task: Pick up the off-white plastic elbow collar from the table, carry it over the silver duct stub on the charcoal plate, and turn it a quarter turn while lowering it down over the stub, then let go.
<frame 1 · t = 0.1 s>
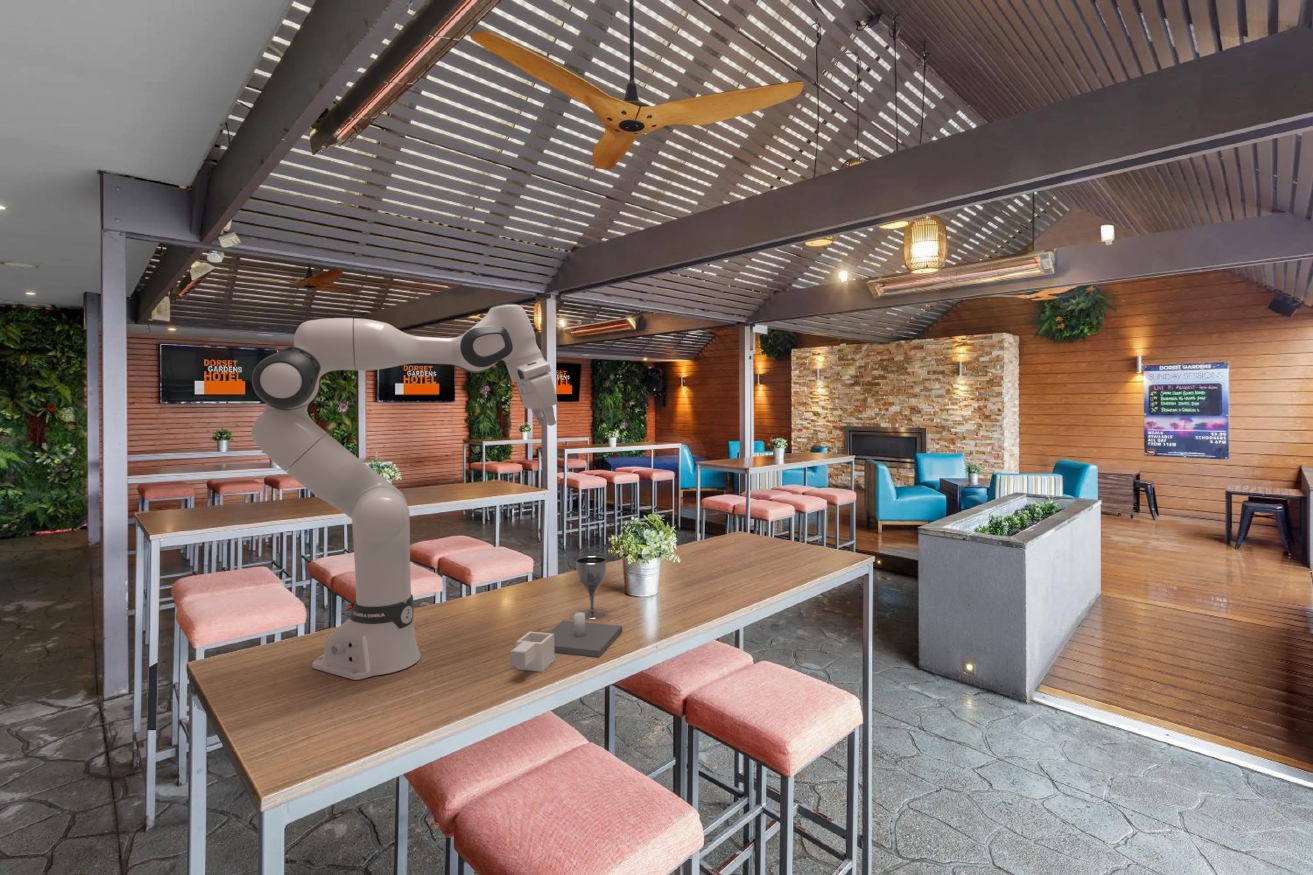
hand: (547, 424, 147), 52 cm above the table, tool tilted 20°, fingers open, 8 cm apart
wine glass: (592, 615, 164), on the table
elbow: (536, 664, 132), on the table
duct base: (579, 640, 145), on the table
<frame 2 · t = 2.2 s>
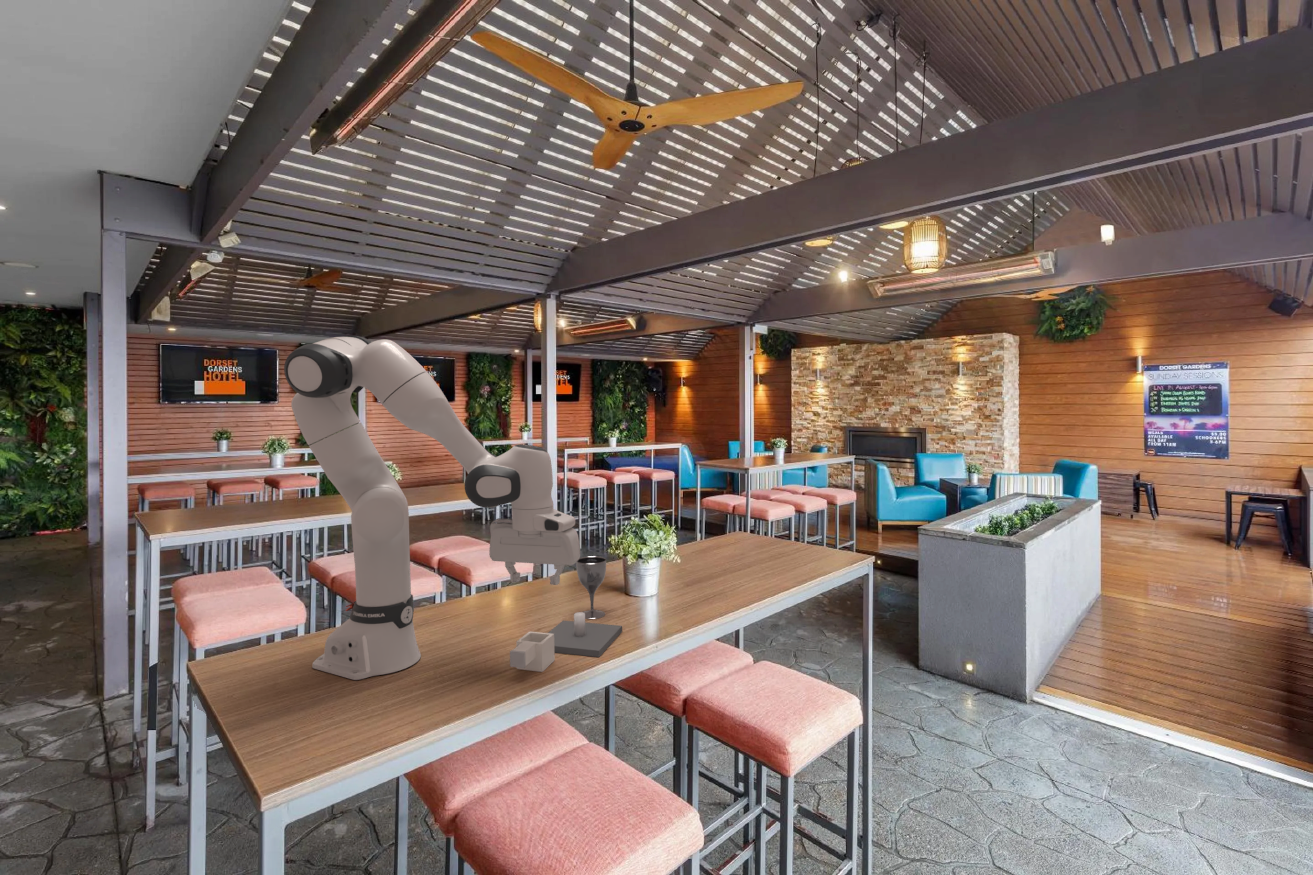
hand: (535, 582, 131), 18 cm above the table, tool pointing down, fingers open, 8 cm apart
nothing on the table moved.
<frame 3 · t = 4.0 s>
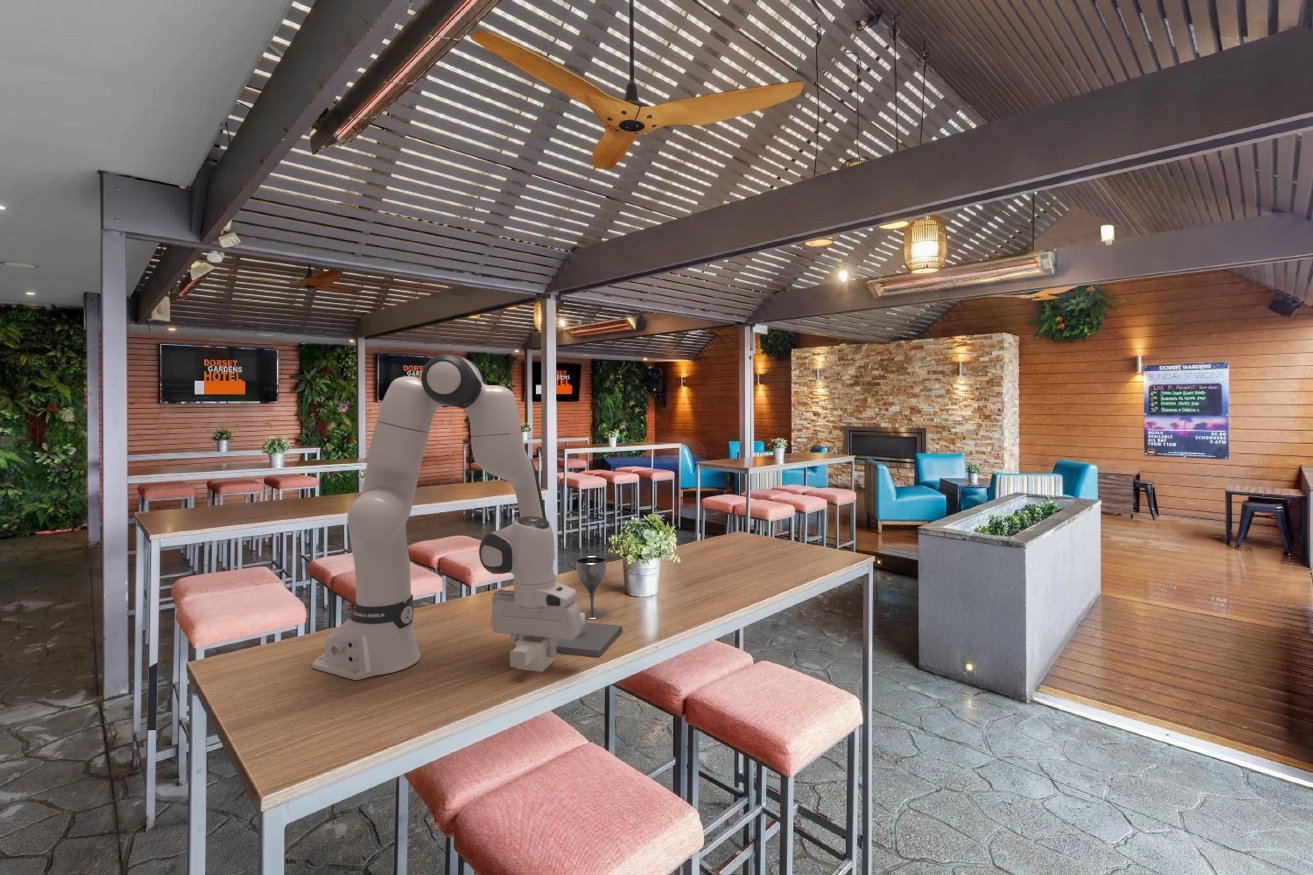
hand: (536, 654, 132), 2 cm above the table, tool pointing down, fingers closed on elbow, 6 cm apart
elbow: (536, 664, 132), on the table, touching gripper
everything else where it was.
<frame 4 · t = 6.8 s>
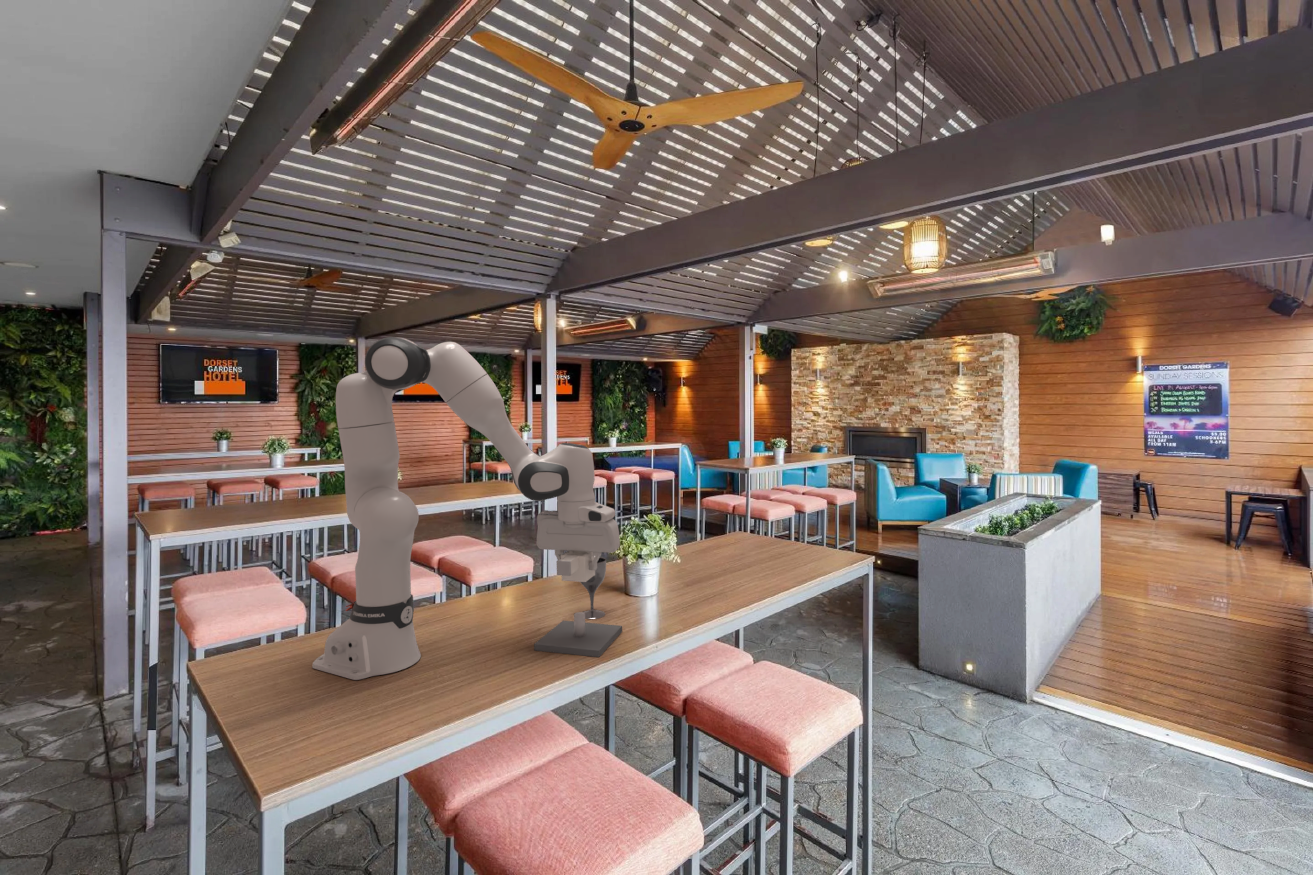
hand: (578, 568, 144), 18 cm above the table, tool pointing down, fingers closed on elbow, 6 cm apart
elbow: (578, 577, 144), point 16 cm above the table, touching gripper
everything else where it was.
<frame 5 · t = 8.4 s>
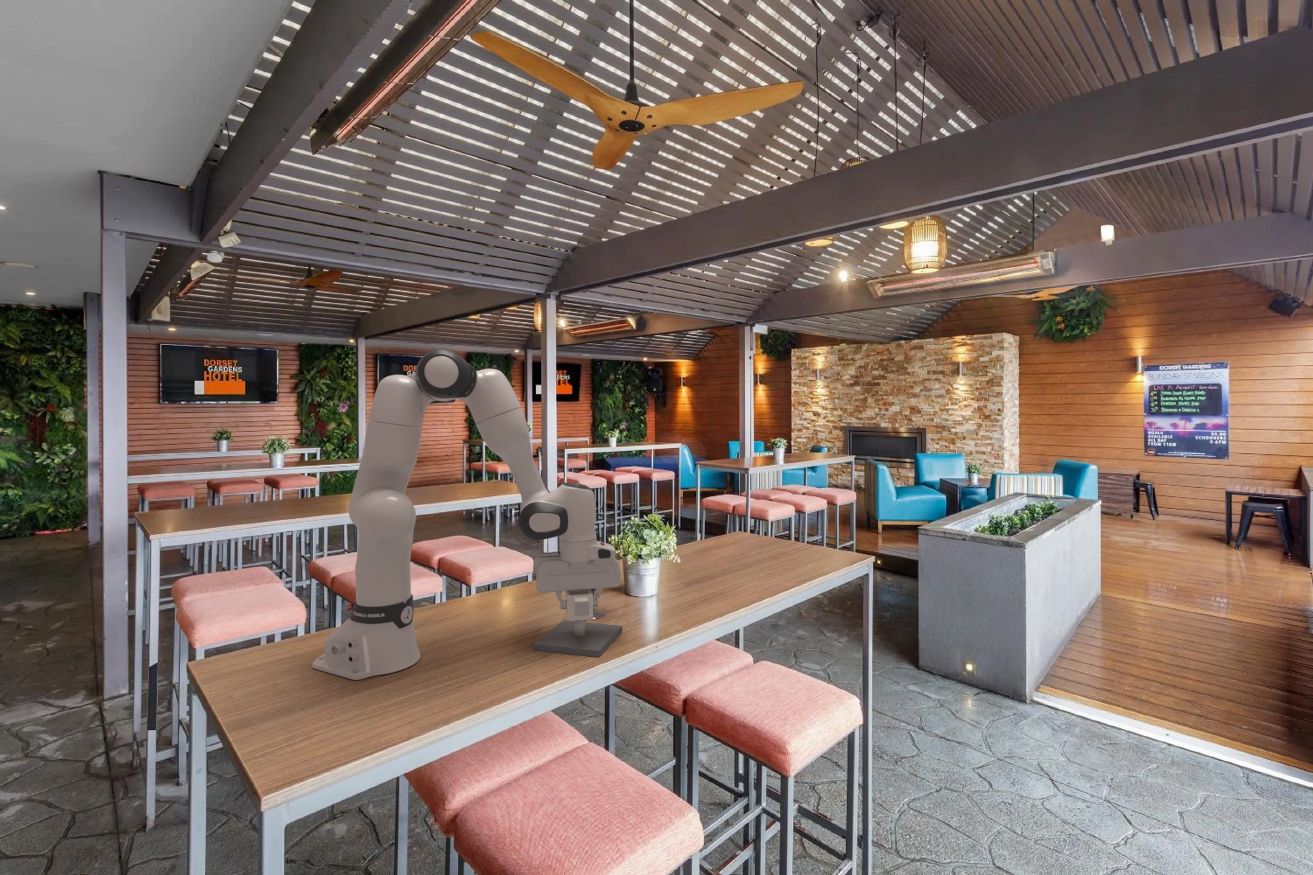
hand: (579, 607, 145), 8 cm above the table, tool pointing down, fingers closed on elbow, 6 cm apart
elbow: (579, 615, 145), point 6 cm above the table, touching gripper
everything else where it was.
when the fingers open (5 cm above the table, at t = 9.6 s): elbow drops 1 cm, resting on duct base.
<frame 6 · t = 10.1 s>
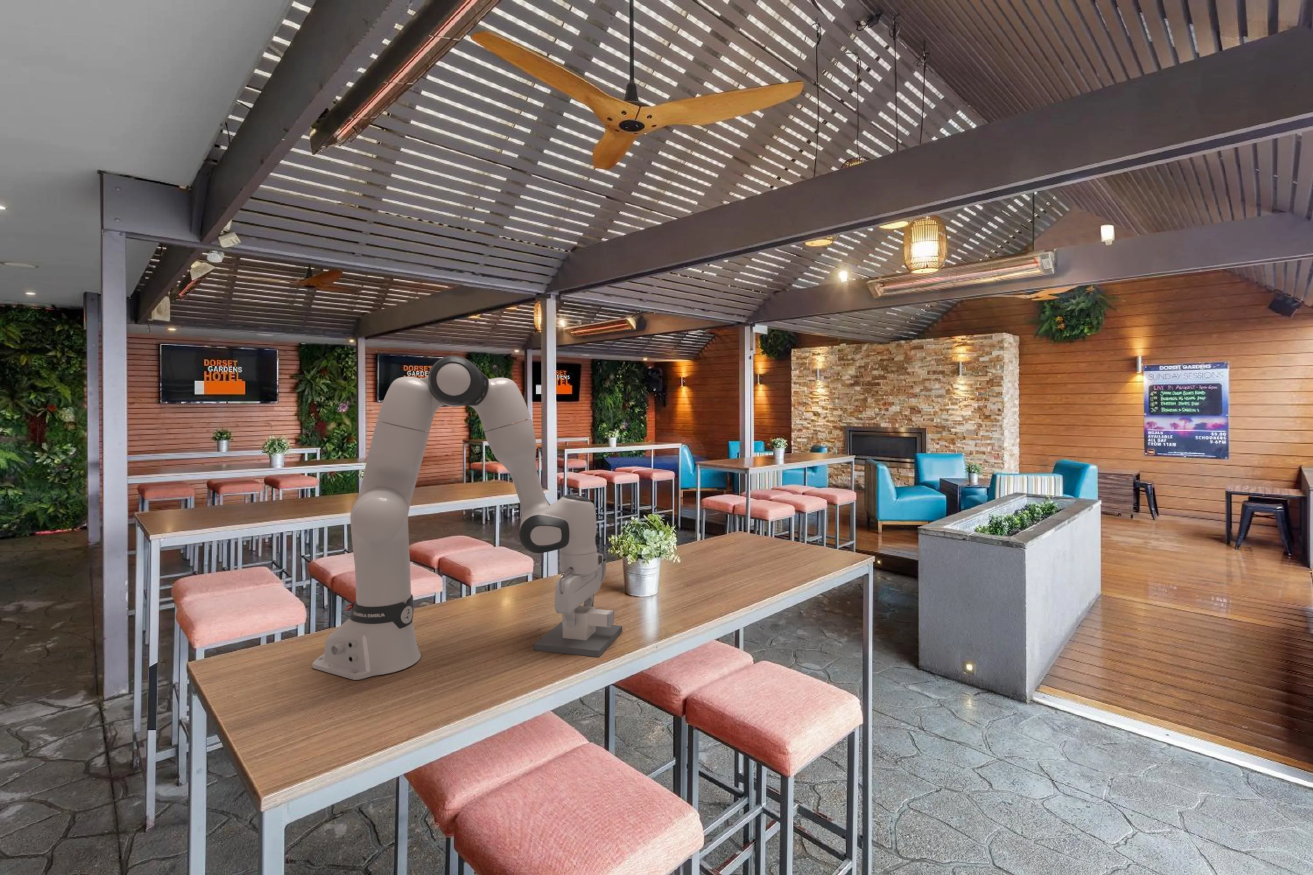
hand: (579, 619, 145), 5 cm above the table, tool pointing down, fingers open, 8 cm apart
elbow: (579, 634, 145), point 1 cm above the table, touching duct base
everything else where it was.
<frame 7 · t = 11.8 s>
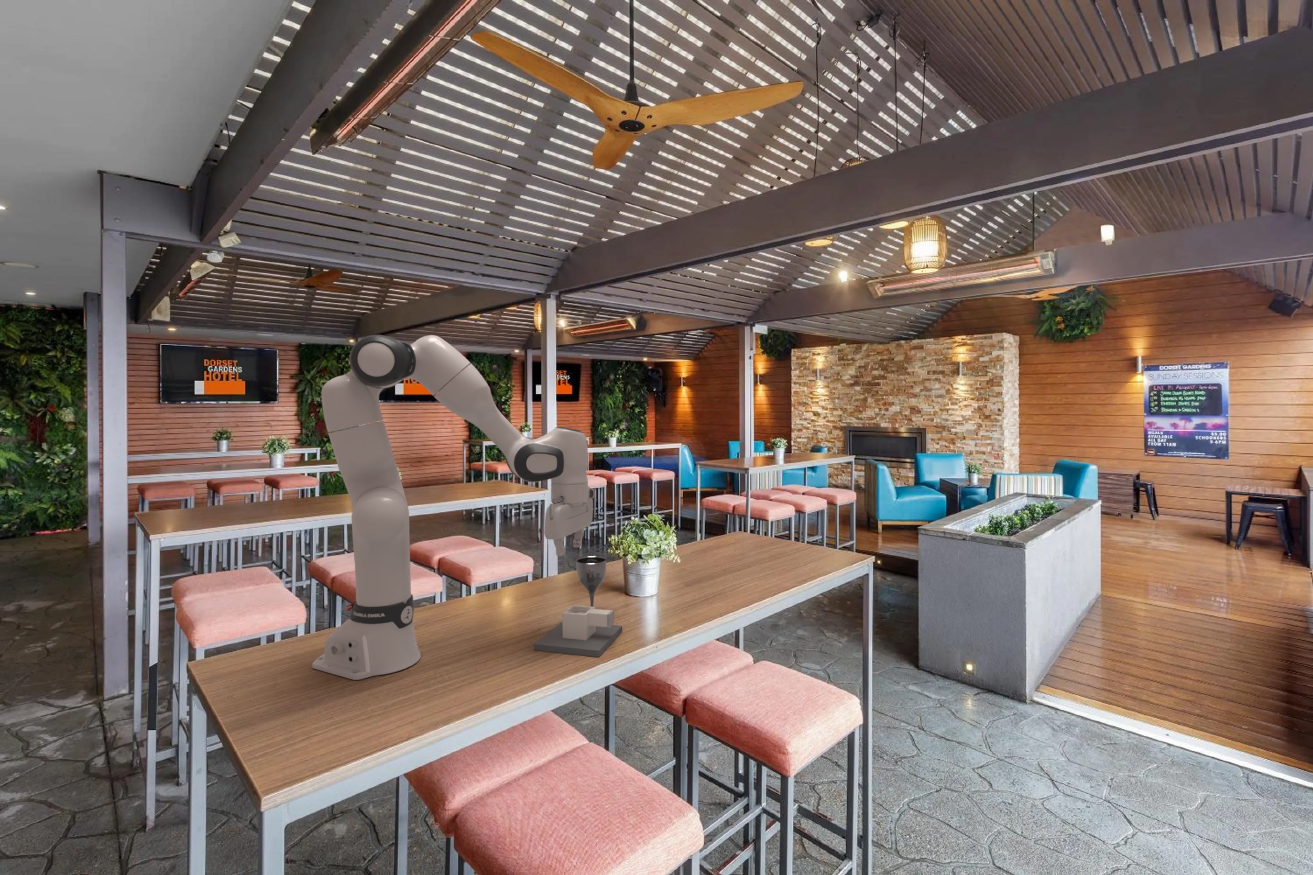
hand: (569, 550, 146), 21 cm above the table, tool pointing down, fingers open, 8 cm apart
nothing on the table moved.
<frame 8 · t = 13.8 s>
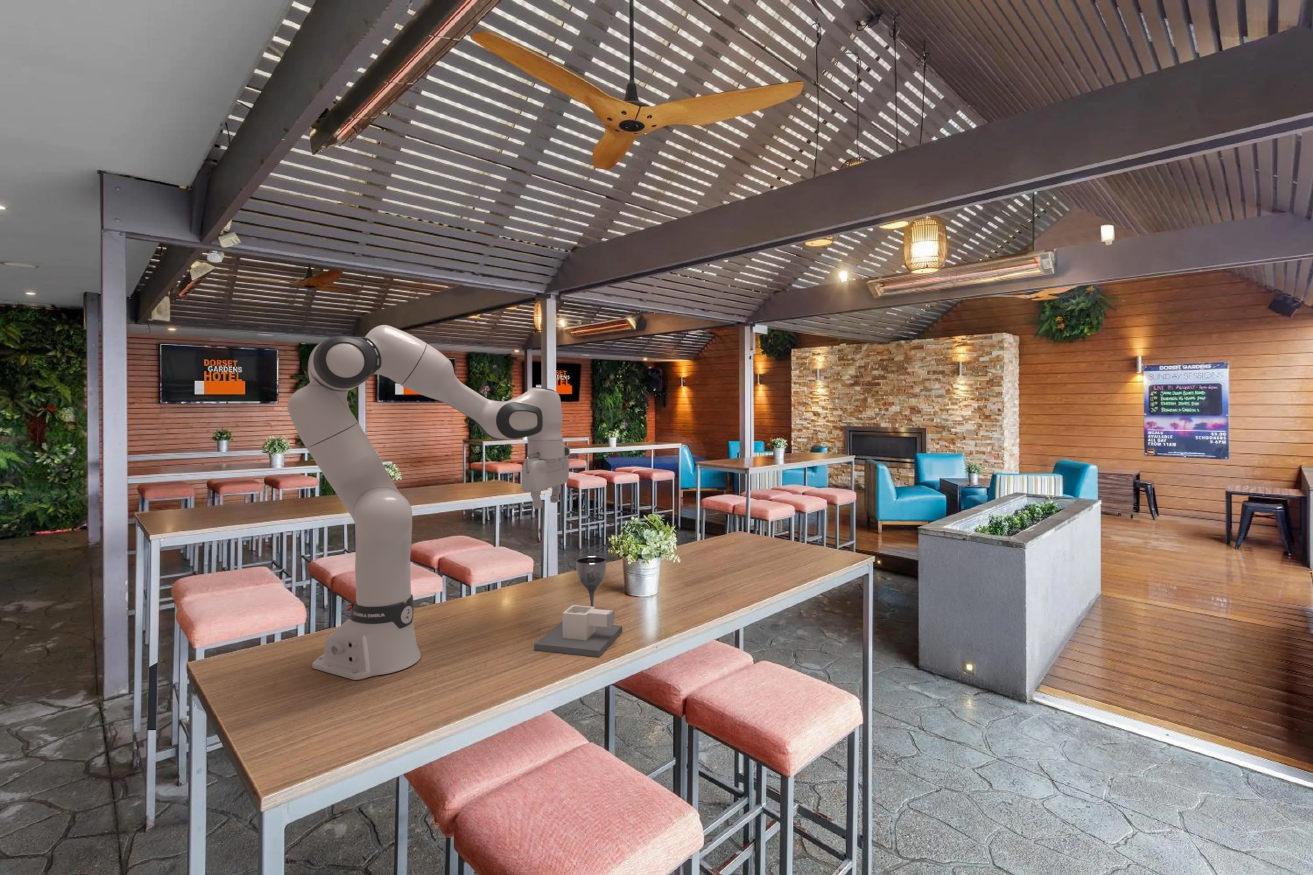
hand: (546, 505, 155), 31 cm above the table, tool pointing down, fingers open, 8 cm apart
nothing on the table moved.
at the end: elbow 0.1 cm off-centre on the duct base, point 1.5 cm above the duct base's base; elbow tilted 0°; the gripper is holding nothing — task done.
